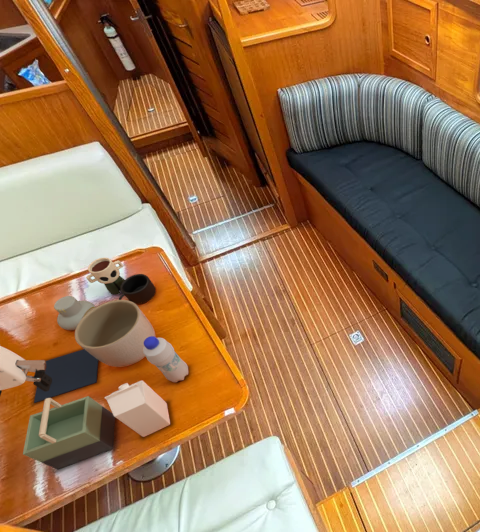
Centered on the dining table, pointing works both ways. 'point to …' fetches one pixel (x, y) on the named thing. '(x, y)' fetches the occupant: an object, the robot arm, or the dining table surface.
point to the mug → (138, 289)
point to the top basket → (62, 428)
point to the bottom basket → (92, 449)
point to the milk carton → (139, 408)
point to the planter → (114, 333)
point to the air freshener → (71, 311)
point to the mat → (69, 374)
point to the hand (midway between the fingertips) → (23, 391)
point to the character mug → (106, 274)
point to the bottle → (165, 358)
